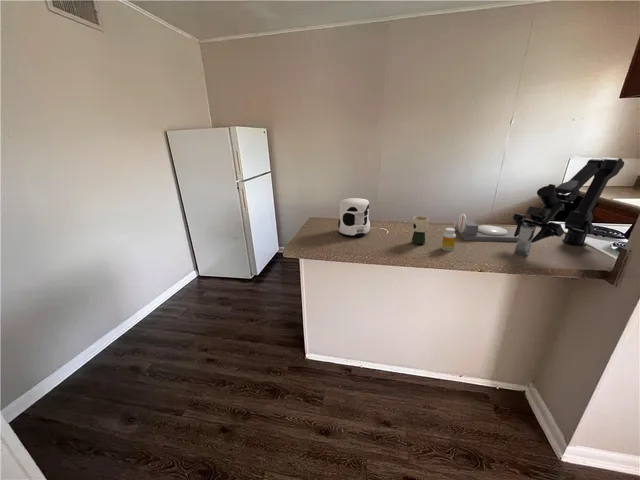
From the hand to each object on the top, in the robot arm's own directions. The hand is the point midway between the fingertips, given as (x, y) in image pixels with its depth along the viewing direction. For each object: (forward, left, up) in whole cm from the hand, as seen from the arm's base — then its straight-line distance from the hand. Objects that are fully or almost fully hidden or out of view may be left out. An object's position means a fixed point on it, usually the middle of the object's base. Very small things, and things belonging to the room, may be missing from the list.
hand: (522, 239), depth 116 cm
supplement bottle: (+29, -4, -7) cm, 30 cm away
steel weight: (-1, -1, -7) cm, 7 cm away
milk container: (+73, -22, -7) cm, 76 cm away
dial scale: (+5, -25, -7) cm, 26 cm away
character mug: (+41, -10, -7) cm, 42 cm away
